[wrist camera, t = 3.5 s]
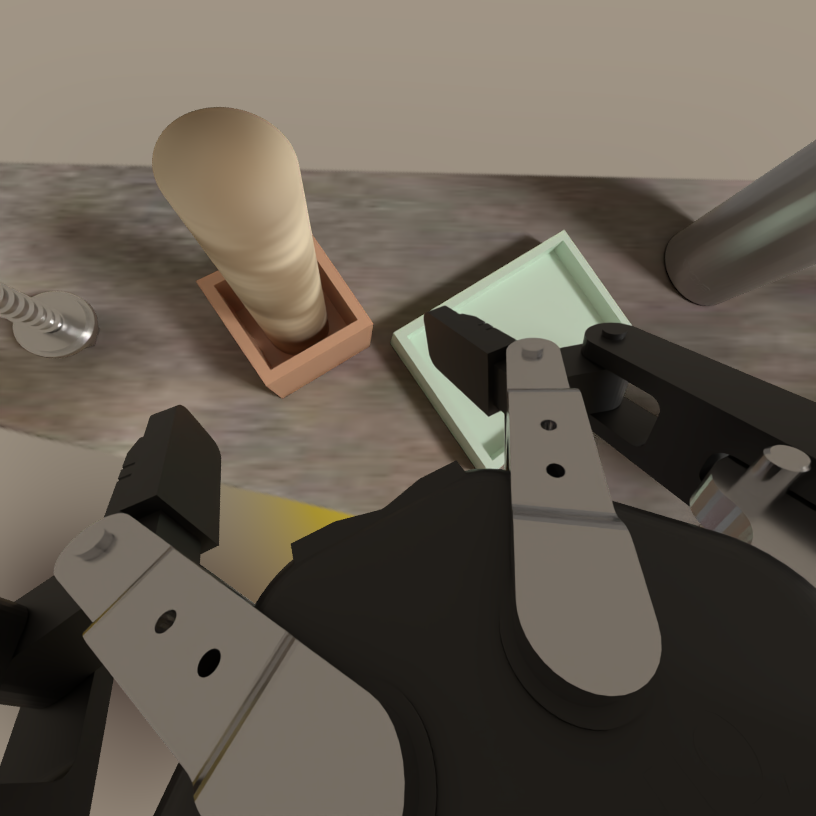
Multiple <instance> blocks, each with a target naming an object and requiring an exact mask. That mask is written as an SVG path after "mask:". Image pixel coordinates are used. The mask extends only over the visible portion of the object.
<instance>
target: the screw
mask: <svg viewBox="0 0 816 816" xmlns="http://www.w3.org/2000/svg"><path fill="white" fill-rule="evenodd" d="M0 317H1V318H6V319H8V320H9V321H12V322H13V332H14V336H15V338H16V340H17V341H18V343H19V344H20V345H21V346H22V347H23V348H24V349H26V350H27V351H29V352H31V353H33V354H36V355H39V356H42V357H47V358H63V357H68V356H71V355H74V354H76V353H78V352H80V351H81V350H83V349H84V348H87V347H91V346H94V345H95V341H96V338H97V335H98V331H99V328H98V320H97V316H96V313H95V311H94V309H93V308H92V306H91V305H90V304H89V303H87V302H86V301H85V300H83V299H82V298H80V297H78V296H76V295H74V294H71V293H68V292H62V291H49V292H44V293H40V294H38V295H36V296H33V297H29V296H28V295H26V294H24V293H21V292H19V291H17V290H16V289H14V288H11V287H8V286H7V285H5V284H3V283H1V282H0Z"/></svg>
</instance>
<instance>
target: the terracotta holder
mask: <svg viewBox="0 0 816 816" xmlns="http://www.w3.org/2000/svg"><path fill="white" fill-rule="evenodd" d="M312 237H313V243H314V248H315V253H316V259H317V264H318V269H319V275H320V280H321V285H322V291H323V296H324V301H325V307H326V312H327V317H328V323H329V332H328V336H327V338H325V339H324V340H322V341H320V342H318V343H317V344H315V345H313V346H311V347H310V348H308V349H306V350H305V351H303V352H301V353H299V354H298V355H296V356H295V355H290V354H286V353H284V352H282V351H280V350H279V349H277V348H276V347H275V346H274V345H273V344H272V342H271V341H270V340H269V338H268V337H267V336H266V334H265V333H264V331H263V330H262V329H261V327H260V326H259V325H258V323H257V322H256V321H255V319H254V318H253V316H252V315H251V314H250V312H249V311H248V310H247V308H246V307H245V306H244V304H243V303H242V301H241V300H240V299H239V297H238V296H237V295H236V293H235V292H234V291H233V289H232V288H231V286H230V285H229V284H228V282H227V281H226V280H225V278H224V277H223V276H222V274H221V273H220V271H219V270H218V271H216V272H214V273H212V274H210V275H207V276H205V277H203V278H201V279H199V280H197V281H196V282H197V284H198V285H199V287H200V288H201V290H202V291H203V293H204V294H205V296H206V297H207V299H208V300H209V302H210V303H211V304H212V306H213V307H214V309H215V310H216V312H217V313H218V315H219V316H220V318H221V319H222V321H223V322H224V324H225V325H226V327H227V328H228V330H229V331H230V333H231V334H232V336H233V337H234V339H235V340H236V342H237V343H238V345H239V346H240V348H241V349H242V351H243V352H244V354H245V355H246V357H247V358H248V360H249V361H250V363H251V364H252V366H253V367H254V368H255V370H256V371H257V373H258V374H259V376H260V377H261V379H262V380H263V382H264V383H265V385H266V386H267V387H268V388H269V389H271V390H272V391H273V392H275V393H276V394H277V395H278V396H280V397H281V398H282V399H283V398H285V397H286V396H288V395H290V394H291V393H293V392H295V391H296V390H298V389H300V388H301V387H303V386H305V385H306V384H308V383H310V382H311V381H313V380H315V379H316V378H318V377H320V376H321V375H323V374H325V373H326V372H328V371H330V370H331V369H333V368H335V367H336V366H338V365H340V364H341V363H343V362H344V361H346V360H348V359H349V358H351V357H353V356H354V355H356V354H358V353H359V352H361V351H363V350H364V349H366V348H368V347H369V346H370V341H371V335H372V328H373V322H372V321H371V319H370V318H369V317H368V315H367V314H366V312H365V311H364V309H363V308H362V306H361V305H360V303H359V302H358V300H357V299H356V298H355V296H354V295H353V293H352V292H351V290H350V289H349V287H348V286H347V284H346V283H345V281H344V280H343V279H342V277H341V276H340V274H339V273H338V271H337V270H336V268H335V267H334V265H333V264H332V262H331V261H330V260H329V258H328V257H327V255H326V254H325V252H324V251H323V249H322V248H321V246H320V245H319V243H318V242H317V241H316V239H315V238H314V236H313V235H312Z"/></svg>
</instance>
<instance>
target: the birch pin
mask: <svg viewBox="0 0 816 816" xmlns="http://www.w3.org/2000/svg"><path fill="white" fill-rule="evenodd" d="M152 167H153V173H154V177H155V180H156V182H157V185H158V187H159V189H160V190H161V192H162V194H163V195H164V196H165V198H166V199H167V201H168V202H169V203H170V205H171V206H172V207H173V209H174V210H175V211H176V213H177V214H178V216H179V217H180V218H181V220H182V221H183V222H184V224H185V225H186V226H187V228H188V229H189V231H190V232H191V233H192V235H193V236H194V237H195V239H196V240H197V241H198V243H199V244H200V246H201V247H202V248H203V250H204V251H205V252H206V254H207V255H208V256H209V258H210V259H211V261H212V262H213V263H214V265H215V266H216V267H217V269H218V270H219V271H220V273H221V274H222V276H223V277H224V278H225V280H226V281H227V282H228V284H229V285H230V286H231V288H232V289H233V291H234V292H235V293H236V295H237V296H238V297H239V299H240V300H241V301H242V303H243V304H244V306H245V307H246V308H247V310H248V311H249V312H250V314H251V315H252V316H253V318H254V319H255V321H256V322H257V323H258V325H259V326H260V327H261V329H262V330H263V331H264V333H265V334H266V336H267V337H268V338H269V340H270V341H271V342H272V344H273V345H274V346H275V347H276V348H277V349H279V350H280V351H282V352H284V353H286V354H290V355H295V356H296V355H298V354H299V353H301V352H303V351H305V350H306V349H308V348H310V347H311V346H313V345H315V344H317V343H318V342H320V341H322V340H324V339H325V338H327V336H328V332H329V323H328V317H327V312H326V307H325V301H324V296H323V291H322V285H321V280H320V275H319V269H318V264H317V259H316V253H315V248H314V243H313V237H312V232H311V227H310V221H309V216H308V211H307V205H306V200H305V195H304V189H303V184H302V179H301V173H300V168H299V163H298V159H297V156H296V154H295V151H294V149H293V147H292V146H291V144H290V142H289V141H288V140H287V138H286V137H285V136H284V135H283V134H282V133H281V132H280V131H279V130H278V129H277V128H276V127H275V126H273V125H272V124H271V123H269V122H268V121H266V120H265V119H263V118H261V117H259V116H257V115H255V114H252V113H249V112H247V111H243V110H239V109H234V108H226V107H213V108H204V109H199V110H195V111H192V112H189V113H187V114H185V115H183V116H181V117H179V118H178V119H176V120H175V121H173V122H172V123H171V124H170V125H168V126H167V128H166V129H165V130H164V131H163V132H162V134H161V135H160V137H159V138H158V140H157V142H156V145H155V147H154V151H153V158H152Z"/></svg>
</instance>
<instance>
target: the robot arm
mask: <svg viewBox="0 0 816 816" xmlns="http://www.w3.org/2000/svg"><path fill="white" fill-rule="evenodd" d="M665 263H666V268H667V272H668V274H669V277H670V279H671V281H672V283H673V284H674V286H675V287H676V288H677V290H678V291H679V292H680V293H681V294H682V295H683V296H685V297H686V298H687V299H689V300H690V301H692V302H694V303H697V304H700V305H705V306H712V305H717V304H719V303H722V302H724V301H727V300H729V299H731V298H734V297H736V296H739V295H741V294H744V293H746V292H749V291H751V290H754V289H756V288H759V287H761V286H764V285H766V284H769V283H771V282H774V281H776V280H779V279H781V278H783V277H786V276H788V275H791V274H793V273H796V272H798V271H801V270H803V269H805V268H808V267H810V266H813V265H815V264H816V140H815V141H813V142H811V143H810V144H809V145H807V146H806V147H804V148H803V149H801V150H800V151H798V152H797V153H795V154H794V155H793V156H791V157H789V158H788V159H787V160H785V161H783V162H782V163H781V164H779V165H778V166H776V167H775V168H773V169H772V170H770V171H769V172H767V173H766V174H764V175H763V176H761V177H760V178H758V179H757V180H755V181H754V182H752V183H751V184H750V185H748V186H747V187H745V188H744V189H742V190H741V191H739V192H738V193H736V194H735V195H733V196H732V197H730V198H729V199H727V200H726V201H724V202H723V203H722V204H720V205H719V206H717V207H715V208H714V209H712V210H711V211H710V212H708V213H707V214H705V215H704V216H702V217H701V218H699V219H698V220H696V221H695V222H693V223H692V224H691V225H689V226H688V227H686V228H685V229H683V230H682V231H680V232H679V233H677V234H676V235H674V236H673V238H672V239H671V240H670V241H669V243H668V245H667V248H666V253H665ZM424 325H425V332H426V338H427V345H428V351H429V356H430V359H431V361H432V363H433V365H434V366H435V367H436V368H437V369H438V370H439V371H440V372H441V373H442V374H443V375H444V376H445V377H446V378H447V379H448V380H449V381H450V382H452V383H453V384H454V385H455V386H456V387H457V388H458V389H459V390H460V391H461V392H462V393H463V394H464V395H465V396H467V397H468V398H469V399H470V400H471V401H472V402H473V403H474V404H475V405H476V406H477V407H478V408H479V409H480V410H482V411H483V412H484V413H485V414H486V415H487V416H488V417H489V416H491V415H493V414H496V413H498V412H500V411H502V412H503V413H504V465H505V466H504V470H502V469H491V468H486V469H473V470H467V471H464V470H463V468H462V467H461V466H460V465H459V463H458V462H457V461H454V462H452V463H450V464H448V465H446V466H444V467H442V468H440V469H438V470H436V471H434V472H432V473H430V474H428V475H426V476H424V477H422V478H420V479H419V480H418V481H416V482H415V483H414V484H413V485H412V486H410V487H409V488H408V489H407V490H405V491H404V492H403V493H402V494H401V495H399V496H398V497H397V498H396V499H395V500H393V501H392V502H391V503H390V504H389V505H387V506H386V507H385V508H383V509H381V510H378V511H374V512H370V513H366V514H362V515H358V516H354V517H350V518H347V519H343V520H339V521H335V522H333V523H331V524H329V525H327V526H325V527H323V528H321V529H319V530H317V531H315V532H313V533H311V534H309V535H307V536H305V537H303V538H301V539H299V540H297V541H295V542H293V543H291V548H292V554H293V560H292V561H291V562H289V563H288V564H287V565H286V566H285V567H284V568H283V569H282V570H281V571H280V572H279V573H278V574H277V575H276V576H275V578H274V579H273V580H272V581H271V582H270V583H269V585H268V586H267V587H266V589H265V590H264V592H263V593H262V594H261V596H260V597H259V599H258V601H257V602H256V604H254V603H253V602H251V601H250V600H249V599H247V598H246V597H244V596H243V595H242V594H240V593H239V592H238V591H236V590H235V589H233V588H232V587H231V586H229V585H228V584H227V583H225V582H224V581H222V580H221V579H220V578H218V577H217V576H216V575H214V574H213V573H211V572H210V571H209V570H207V569H206V568H204V567H203V566H201V565H200V554H202V553H204V552H206V551H208V550H210V549H212V548H214V547H216V546H219V516H220V481H221V454H220V451H219V448H218V446H217V444H216V443H215V441H214V440H213V439H212V438H211V436H210V435H209V434H208V433H207V432H206V431H205V429H204V428H203V427H202V426H201V425H200V423H199V422H198V421H197V420H196V419H195V418H194V416H193V415H192V414H191V413H190V412H189V411H188V410H187V409H186V408H185V407H184V406H182V405H177V406H175V407H172V408H169V409H167V410H164V411H161V412H159V413H156V414H153V415H151V416H150V418H149V421H148V425H147V428H146V431H145V434H144V437H141V438H139V440H138V441H137V442H136V443H135V445H134V446H133V447H132V448H131V449H130V451H129V452H128V453H127V456H126V458H125V461H124V464H123V469H122V470H121V472H120V475H119V478H118V479H119V481H118V482H117V483H116V486H115V489H114V491H113V494H112V497H111V500H110V502H109V505H108V508H107V511H106V513H105V516H104V518H102V519H100V520H98V521H97V522H95V523H93V524H92V525H90V526H89V527H87V528H86V529H85V530H83V531H82V532H81V533H79V534H78V535H77V536H76V537H75V538H74V539H73V540H72V541H71V542H70V543H69V544H68V545H67V547H66V548H65V549H64V550H63V551H62V553H61V554H60V556H59V558H58V560H57V561H56V564H55V567H54V576H52V577H51V578H50V579H48V580H46V581H45V582H43V583H42V584H40V585H39V586H37V587H36V588H34V589H33V590H31V591H30V592H29V593H27V594H25V595H24V596H23V597H21V598H19V599H18V600H16V601H15V602H12V601H10V600H7V599H4V598H1V597H0V704H3V705H9V706H17V707H20V710H19V713H18V716H17V719H16V721H15V724H14V727H13V730H12V733H11V736H10V739H9V742H8V745H7V748H6V751H5V753H4V757H3V759H2V762H1V765H0V816H89V814H90V809H91V803H92V797H93V792H94V786H95V780H96V775H97V769H98V764H99V757H100V752H101V747H102V741H103V735H104V730H105V724H106V718H107V712H108V707H109V701H110V696H111V690H112V684H113V679H115V680H116V682H117V683H118V684H119V685H120V687H121V688H122V689H123V690H124V692H125V693H126V694H127V696H128V697H129V698H130V700H131V701H132V702H133V703H134V705H135V706H136V707H137V708H138V710H139V711H140V712H141V714H142V715H143V716H144V718H145V719H146V720H147V721H148V723H149V724H150V725H151V727H152V728H153V729H154V731H155V732H156V733H157V734H158V736H159V737H160V738H161V740H162V741H163V742H164V743H165V745H166V746H167V747H168V749H169V750H170V751H171V752H172V754H173V755H174V756H175V758H176V759H177V760H178V761H179V763H178V765H177V767H176V769H175V771H174V773H173V775H172V778H171V780H170V782H169V784H168V786H167V788H166V790H165V792H164V795H163V796H162V798H161V801H160V803H159V805H158V807H157V809H156V811H155V813H154V815H153V816H816V402H813V401H811V400H808V399H806V398H804V397H801V396H799V395H796V394H794V393H792V392H789V391H787V390H784V389H782V388H780V387H777V386H775V385H772V384H770V383H768V382H765V381H763V380H760V379H758V378H756V377H753V376H751V375H748V374H746V373H744V372H741V371H739V370H737V369H734V368H732V367H729V366H727V365H725V364H722V363H720V362H717V361H715V360H713V359H710V358H708V357H705V356H703V355H701V354H698V353H696V352H693V351H691V350H689V349H686V348H684V347H681V346H679V345H677V344H674V343H672V342H669V341H667V340H665V339H662V338H660V337H657V336H655V335H653V334H650V333H648V332H645V331H643V330H641V329H638V328H636V327H633V326H631V325H627V324H623V323H612V322H609V323H600V324H596V325H593V326H591V327H589V328H588V329H587V330H586V331H585V334H584V339H583V344H578V345H573V346H568V347H562V348H559V347H558V345H557V344H555V343H554V342H552V341H550V340H547V339H542V338H524V339H520V340H516V339H514V338H512V337H511V336H509V335H507V334H506V333H504V332H502V331H500V330H499V329H497V328H493V326H492V325H490V324H488V323H485V321H483V320H481V319H479V318H478V317H476V316H472V315H467V314H459V313H457V312H456V311H454V310H452V309H451V308H449V307H447V306H445V305H444V306H441V307H439V308H436V309H433V310H431V311H428V312H425V314H424ZM628 383H631V384H633V385H635V386H636V387H638V388H640V389H642V390H643V391H645V392H647V393H649V394H650V395H652V396H653V397H654V398H655V399H656V400H657V402H658V404H659V406H660V413H659V416H658V417H656V416H655V415H653V414H651V413H650V412H648V411H647V410H645V409H643V408H642V407H640V406H638V405H637V404H635V403H634V402H632V401H630V400H629V399H627V398H625V397H624V394H625V391H626V388H627V385H628ZM592 431H593V432H594V433H596V434H597V435H598V436H600V437H601V438H602V439H603V440H605V441H606V442H607V443H609V444H610V445H611V446H612V447H614V448H615V449H616V450H618V451H619V452H620V453H621V454H623V455H624V456H625V457H627V458H628V459H629V460H630V461H632V462H633V463H634V464H636V465H637V466H638V467H639V468H641V469H642V470H643V471H645V472H646V473H647V474H648V475H650V476H651V477H652V478H654V479H655V480H656V481H657V482H659V483H660V484H661V485H663V486H664V487H665V488H666V489H668V490H669V491H670V492H672V493H673V494H674V495H675V496H677V497H678V498H679V499H681V500H682V501H683V502H684V503H686V504H687V505H688V506H690V508H691V511H692V513H693V515H694V516H695V518H696V519H697V520H698V522H699V523H700V525H699V526H696V525H692V524H689V523H686V522H682V521H679V520H675V519H672V518H669V517H665V516H662V515H658V514H655V513H652V512H648V511H645V510H642V509H638V508H635V507H631V506H628V505H625V504H621V503H618V502H614V501H612V500H611V496H610V493H609V489H608V486H607V482H606V479H605V475H604V472H603V468H602V465H601V461H600V458H599V454H598V451H597V447H596V444H595V440H594V437H593V433H592Z"/></svg>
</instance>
